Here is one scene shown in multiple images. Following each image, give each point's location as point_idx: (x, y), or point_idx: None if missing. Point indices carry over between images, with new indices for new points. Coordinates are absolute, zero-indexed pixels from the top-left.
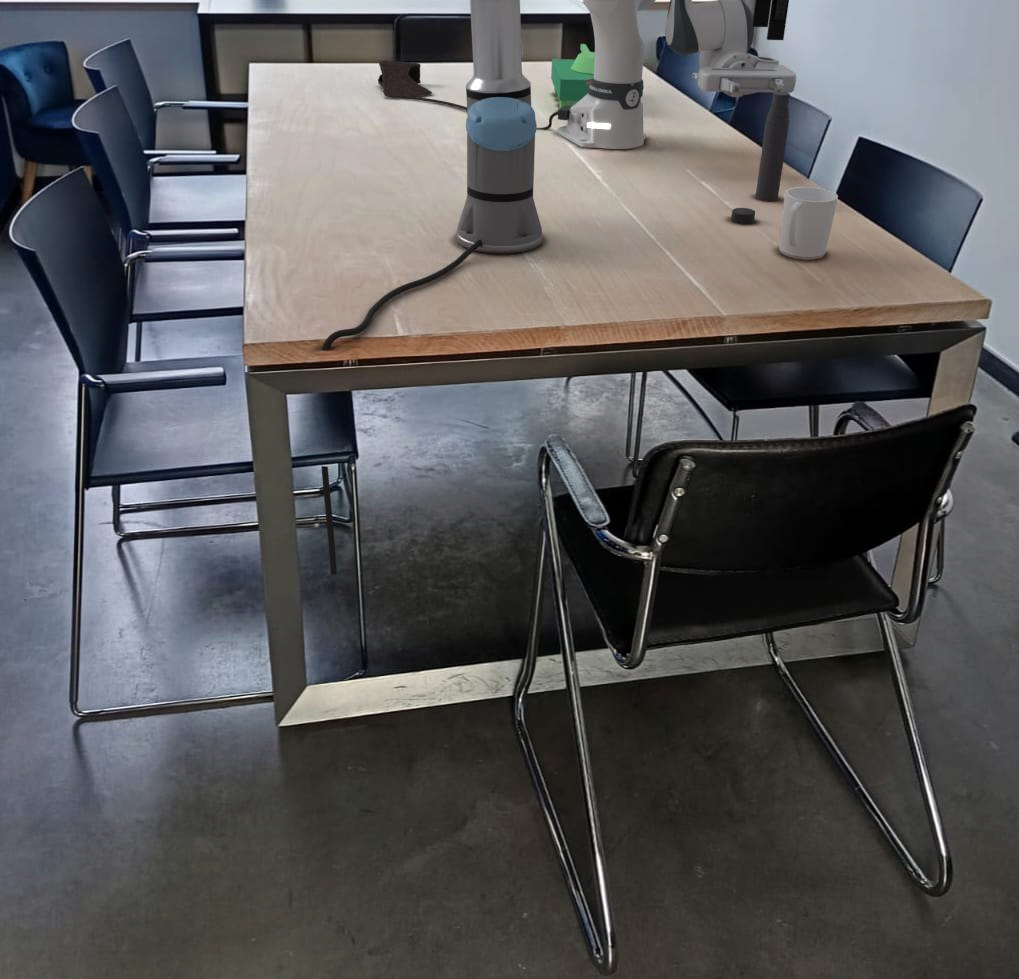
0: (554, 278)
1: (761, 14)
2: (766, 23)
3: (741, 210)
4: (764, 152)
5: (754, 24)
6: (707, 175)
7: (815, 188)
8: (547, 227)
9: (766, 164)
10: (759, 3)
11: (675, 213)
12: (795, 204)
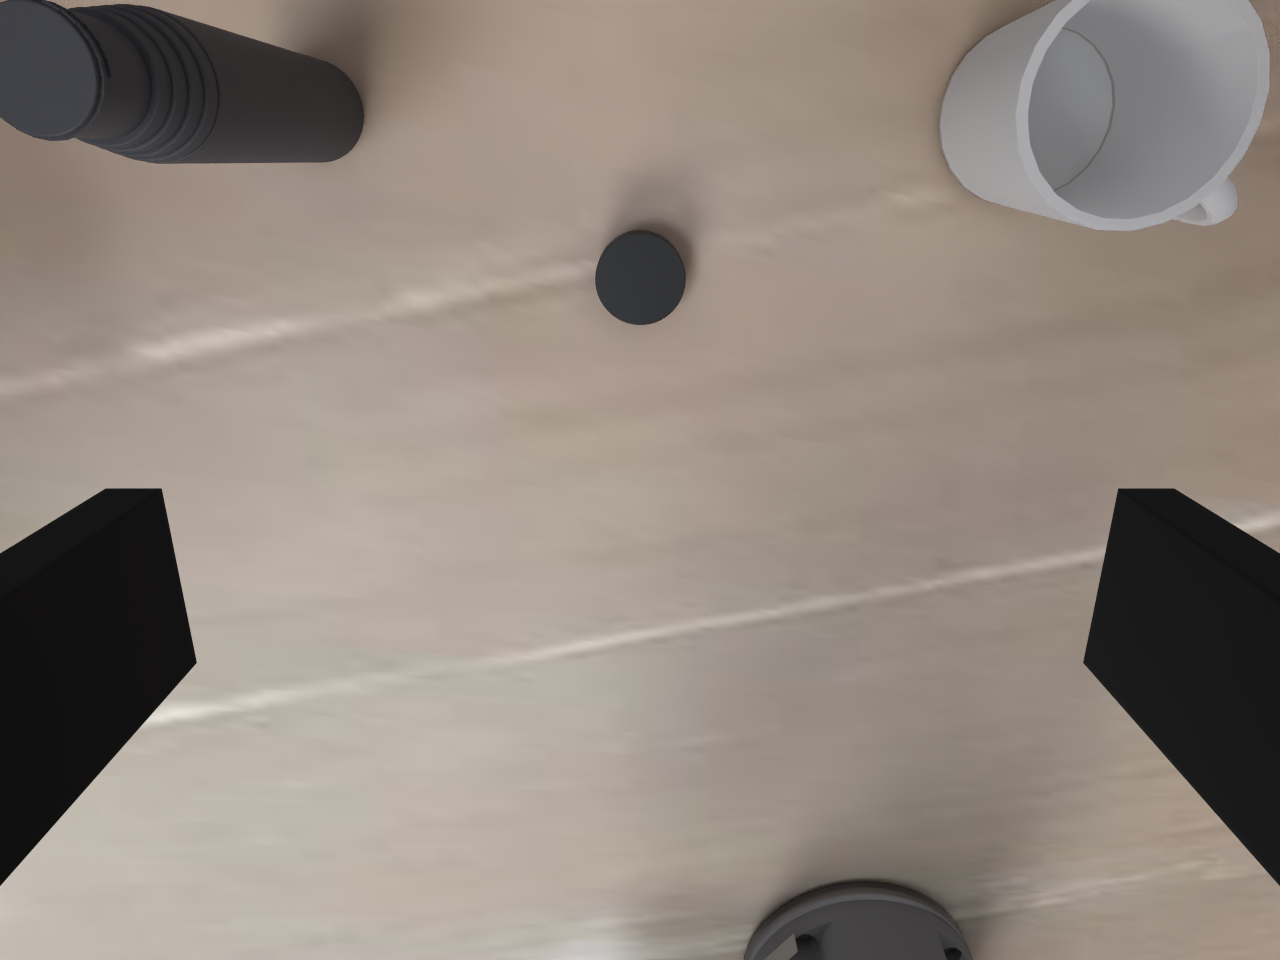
0: (1149, 857)
1: (92, 664)
2: (139, 528)
3: (631, 287)
4: (264, 154)
5: (177, 662)
6: (30, 317)
7: (1043, 53)
8: (740, 864)
9: (302, 140)
10: (5, 816)
11: (572, 504)
12: (1228, 206)
